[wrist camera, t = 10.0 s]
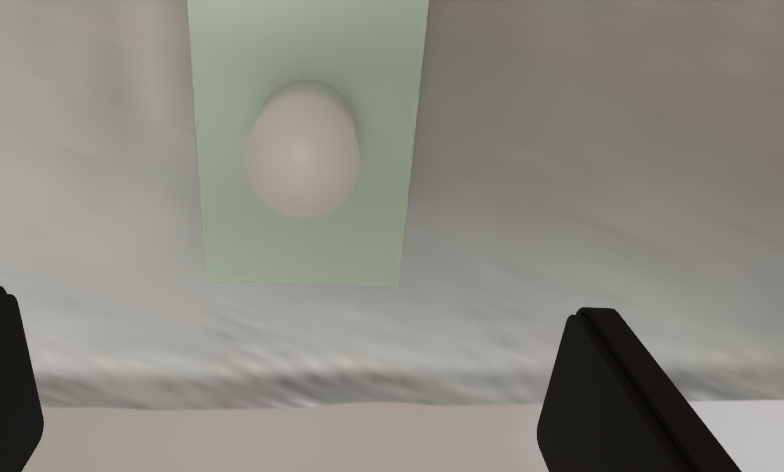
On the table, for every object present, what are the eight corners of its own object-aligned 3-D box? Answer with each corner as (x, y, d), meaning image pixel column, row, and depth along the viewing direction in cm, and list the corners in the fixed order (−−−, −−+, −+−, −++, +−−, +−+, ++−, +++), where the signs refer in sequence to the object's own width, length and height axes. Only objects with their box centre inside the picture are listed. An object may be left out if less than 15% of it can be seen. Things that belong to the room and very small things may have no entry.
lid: (431, -64, 22) (459, -69, 17) (397, 276, 28) (410, 344, 23) (187, -89, 21) (142, -101, 16) (210, 271, 27) (182, 340, 22)
